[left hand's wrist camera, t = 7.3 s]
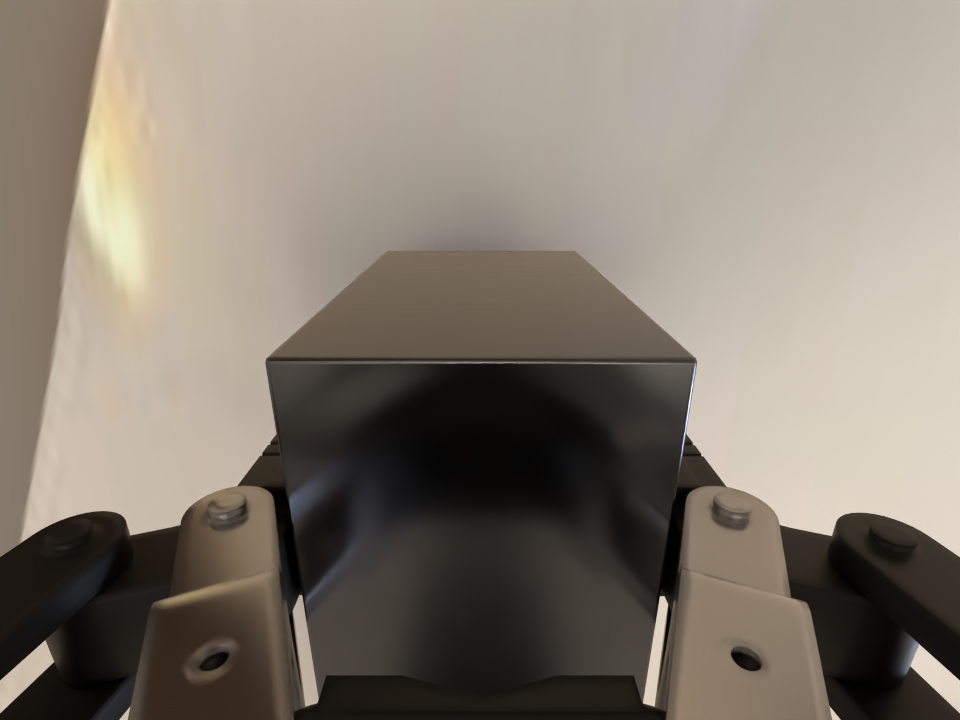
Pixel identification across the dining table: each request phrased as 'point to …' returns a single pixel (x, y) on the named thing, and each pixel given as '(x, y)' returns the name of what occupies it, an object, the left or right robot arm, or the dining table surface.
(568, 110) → the dining table surface
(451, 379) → the bar
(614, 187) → the dining table surface
